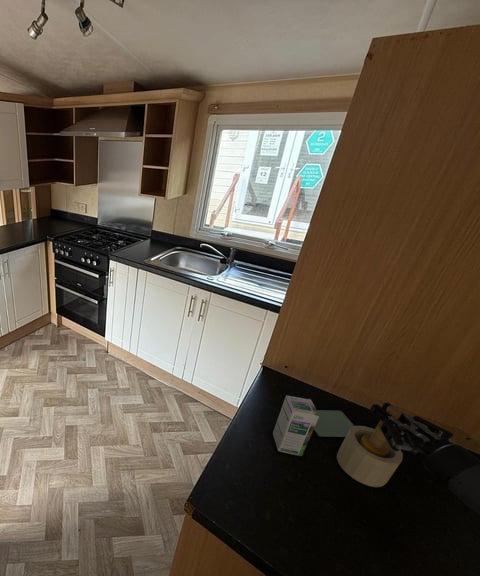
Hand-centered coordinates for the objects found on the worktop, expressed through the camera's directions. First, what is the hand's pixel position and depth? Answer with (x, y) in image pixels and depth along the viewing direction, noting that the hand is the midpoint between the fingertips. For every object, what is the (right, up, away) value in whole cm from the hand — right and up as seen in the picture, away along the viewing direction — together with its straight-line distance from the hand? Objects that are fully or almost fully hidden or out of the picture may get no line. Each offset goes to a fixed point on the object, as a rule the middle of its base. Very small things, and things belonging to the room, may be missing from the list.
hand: (378, 406), depth 71 cm
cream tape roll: (0, -17, +5) cm, 18 cm away
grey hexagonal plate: (+2, -12, +17) cm, 21 cm away
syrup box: (-14, -15, +11) cm, 23 cm away
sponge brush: (0, -14, +4) cm, 14 cm away
